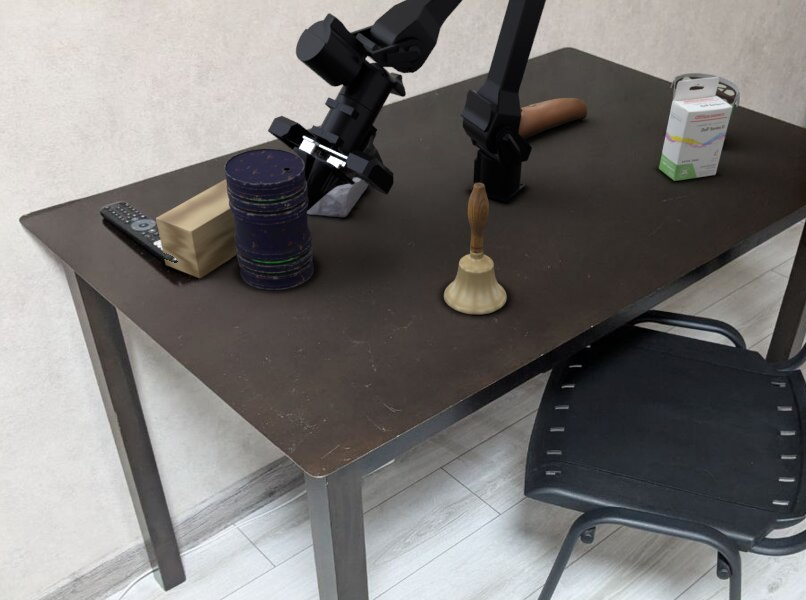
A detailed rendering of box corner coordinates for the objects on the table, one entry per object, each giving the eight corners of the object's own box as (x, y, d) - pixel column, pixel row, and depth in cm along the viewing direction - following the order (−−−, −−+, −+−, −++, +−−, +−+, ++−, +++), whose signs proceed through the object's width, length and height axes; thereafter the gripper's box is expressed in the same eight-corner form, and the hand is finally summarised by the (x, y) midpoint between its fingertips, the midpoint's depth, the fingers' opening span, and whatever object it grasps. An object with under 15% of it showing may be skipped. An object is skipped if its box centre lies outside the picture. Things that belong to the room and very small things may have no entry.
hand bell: (433, 305, 118) (435, 192, 107) (458, 274, 124) (462, 164, 113) (493, 321, 116) (500, 208, 105) (515, 289, 122) (524, 178, 111)
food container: (739, 140, 162) (753, 84, 155) (726, 152, 158) (740, 95, 151) (676, 121, 167) (686, 66, 160) (661, 132, 163) (672, 76, 156)
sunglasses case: (552, 103, 168) (569, 78, 163) (574, 133, 167) (592, 108, 162) (482, 128, 158) (497, 102, 153) (505, 160, 158) (521, 135, 152)
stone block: (288, 221, 135) (350, 219, 133) (279, 191, 132) (343, 188, 130) (316, 188, 144) (375, 185, 142) (308, 159, 141) (369, 155, 139)
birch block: (269, 234, 129) (263, 188, 124) (200, 278, 120) (191, 231, 115) (236, 222, 131) (229, 176, 126) (165, 265, 122) (155, 217, 117)
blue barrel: (226, 283, 119) (209, 177, 109) (257, 246, 126) (243, 143, 116) (298, 295, 118) (287, 189, 108) (325, 257, 125) (317, 154, 115)
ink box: (673, 182, 148) (692, 92, 138) (657, 169, 152) (674, 80, 142) (717, 175, 151) (738, 86, 141) (701, 162, 154) (720, 74, 145)
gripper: (437, 157, 123) (381, 259, 124) (340, 115, 131) (288, 211, 132) (397, 116, 113) (336, 227, 114) (294, 74, 121) (238, 177, 122)
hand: (300, 211), depth 120 cm, fingers closed, pressing on blue barrel
